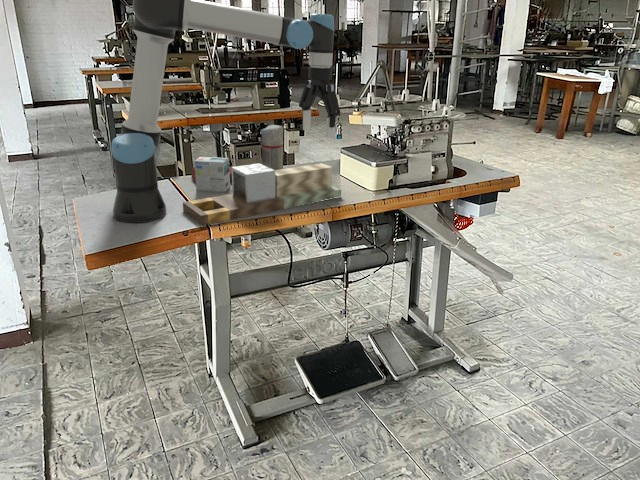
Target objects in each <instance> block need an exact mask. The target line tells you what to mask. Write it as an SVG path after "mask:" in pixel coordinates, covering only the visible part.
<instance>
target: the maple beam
mask: <svg viewBox="0 0 640 480" xmlns="http://www.w3.org/2000/svg"><path fill="white" fill-rule="evenodd" d="M332 186H333V166H331V165H328V164H325V163H322V162H321V163H314V164H308V165H302V166H294V167H287V168H283V169H280V170H275V196H277V197H279V196H284V195H290V194H295V193H301V192H306V191H312V190H317V189H323V188H328V187H332Z"/></svg>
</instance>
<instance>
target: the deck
mask: <svg viewBox="0 0 640 480" xmlns="http://www.w3.org/2000/svg"><path fill="white" fill-rule="evenodd" d="M339 196H341V197H342V189H340V188H339V187H336V186H334V185H332V187H328V188H323V189H317V190H312V191H306V192H301V193H295V194H290V195H284V196H279V197H277V196H275V200H270V201H264V202H259V203H253V204H248V205H247V204H246V195H241V196H235V197H234V196H233V194H232V193H230V194H223V195H218V196H212V197H206V198H205V197H204V198H198V199H194V200H188V201H183V202H182V210H183V213H185V214H186V215H187V216H189V217H190V218H192V219H193V220H194V221H196V222H197V223H198V224H199V225H201V226H206V225H210V224H217V223H220V222H221V223H222V222H227V221H231V220H237V219H242V218H246V217H251V216H256V215H262V214H266V213H267V214H268V213H270V212H271V211H272V212H276V210H277V211H281V209H282V210H287V209H292V208H296V206H297V207H300V206H299V205H302V206H305V205H304V204H307V205H310V204H309V203H312V202H316V201H320V200H325V199H330V198H334V197H339ZM312 204H313V203H312Z"/></svg>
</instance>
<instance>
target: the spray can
mask: <svg viewBox="0 0 640 480" xmlns="http://www.w3.org/2000/svg"><path fill="white" fill-rule="evenodd" d="M261 159H262V160H261V164H262V165H264V166H266V167H269V168H271V169H273V170H280V169H284V127H283V125H278V124H269V125H267V126H266V127H265V128H262V129H261Z"/></svg>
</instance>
